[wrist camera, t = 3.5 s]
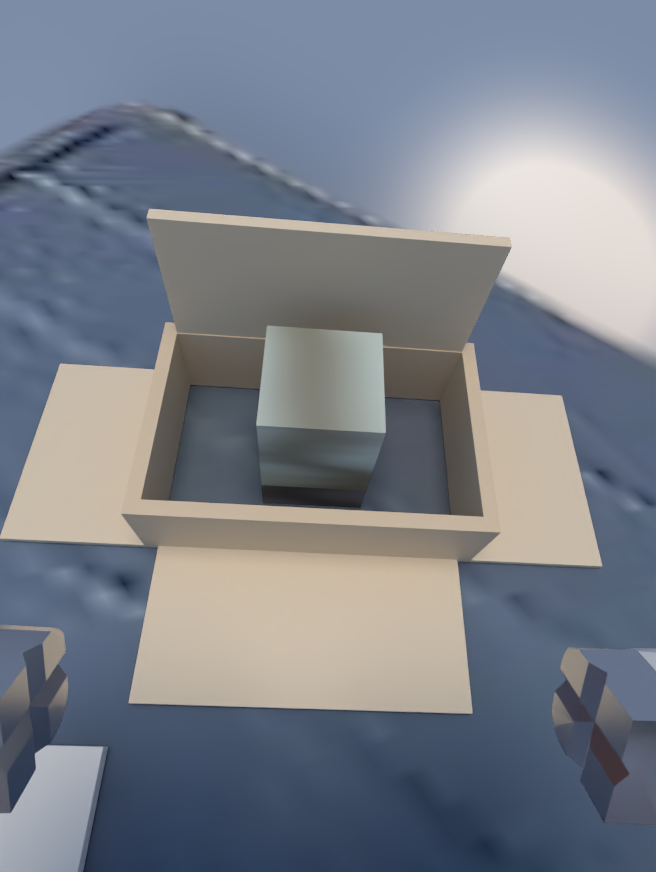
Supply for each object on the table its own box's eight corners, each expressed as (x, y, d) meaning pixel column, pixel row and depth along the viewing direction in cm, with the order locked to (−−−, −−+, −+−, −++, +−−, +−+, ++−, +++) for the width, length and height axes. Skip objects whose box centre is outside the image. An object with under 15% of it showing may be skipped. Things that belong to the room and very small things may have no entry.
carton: (559, 398, 28) (682, 250, 19) (634, 718, 21) (888, 709, 12) (62, 367, 27) (-44, 192, 18) (-52, 698, 19) (-327, 670, 11)
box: (359, 424, 26) (382, 333, 20) (360, 507, 24) (385, 433, 18) (270, 419, 26) (266, 325, 20) (263, 502, 24) (256, 425, 18)
